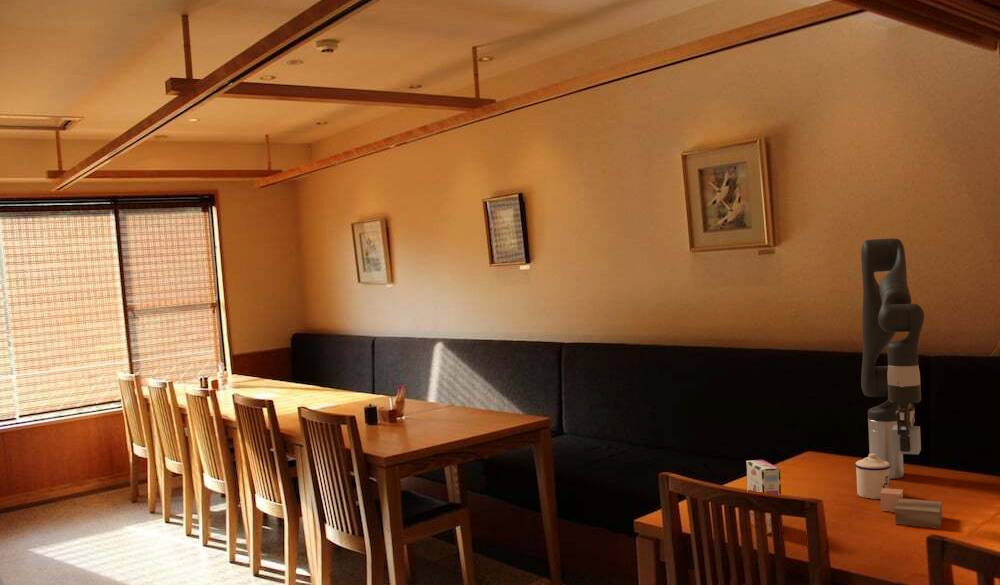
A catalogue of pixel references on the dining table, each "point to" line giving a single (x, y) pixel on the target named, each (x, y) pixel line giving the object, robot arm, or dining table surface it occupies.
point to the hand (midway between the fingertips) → (906, 448)
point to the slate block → (914, 440)
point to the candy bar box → (763, 481)
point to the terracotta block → (890, 498)
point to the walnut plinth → (918, 513)
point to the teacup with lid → (872, 476)
